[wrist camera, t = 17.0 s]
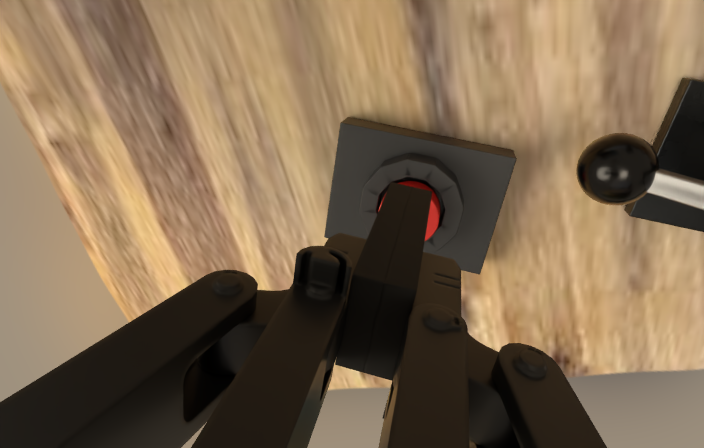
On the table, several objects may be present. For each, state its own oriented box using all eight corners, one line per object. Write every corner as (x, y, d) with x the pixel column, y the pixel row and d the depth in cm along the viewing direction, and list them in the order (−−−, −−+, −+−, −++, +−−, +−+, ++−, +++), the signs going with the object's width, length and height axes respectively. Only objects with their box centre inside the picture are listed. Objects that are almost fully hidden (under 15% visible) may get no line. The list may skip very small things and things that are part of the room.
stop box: (331, 226, 37) (317, 247, 34) (347, 116, 34) (334, 127, 30) (478, 261, 36) (480, 287, 32) (513, 150, 32) (520, 165, 28)
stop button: (377, 227, 33) (373, 237, 31) (387, 174, 31) (383, 182, 29) (432, 240, 32) (431, 251, 31) (446, 187, 30) (445, 196, 29)
